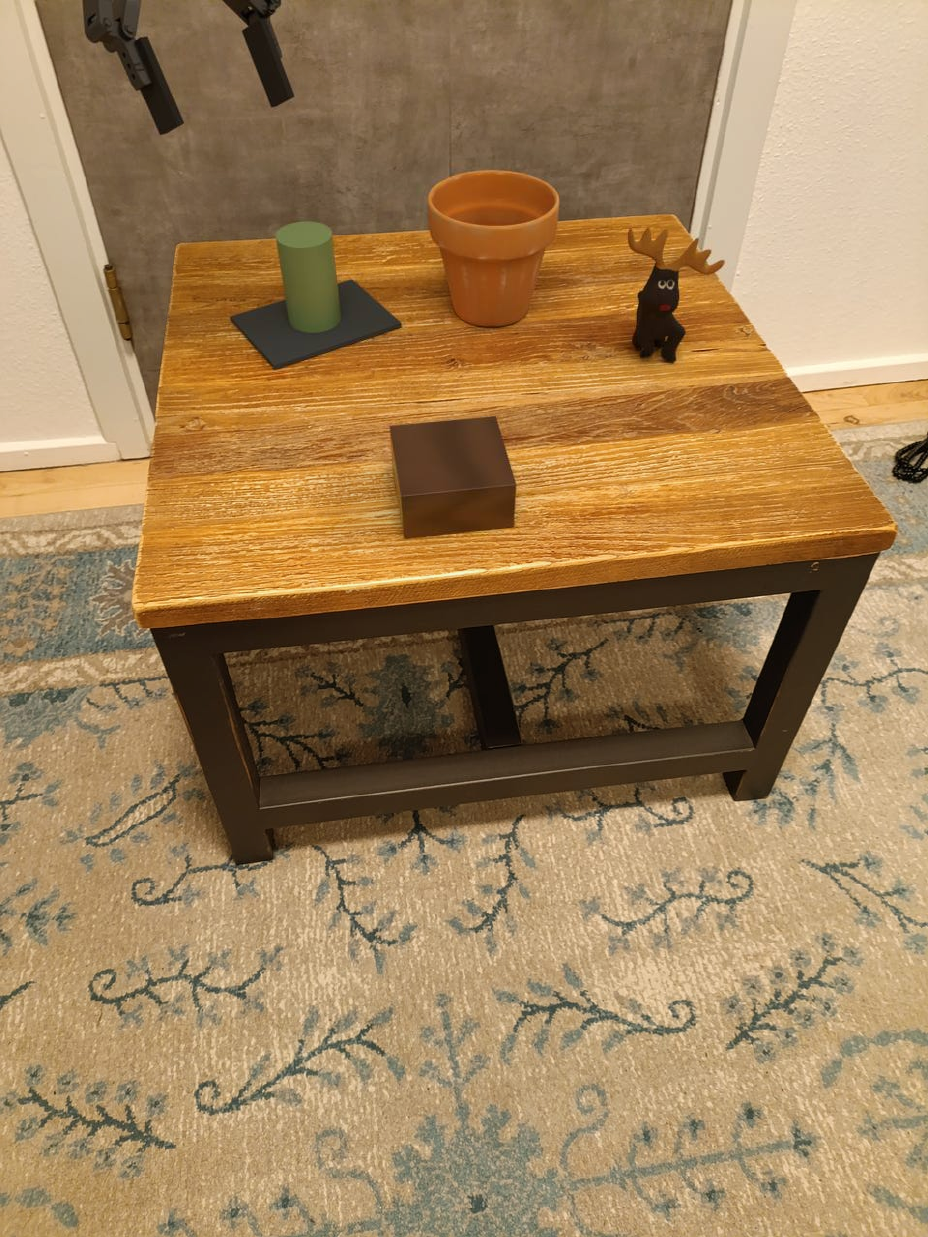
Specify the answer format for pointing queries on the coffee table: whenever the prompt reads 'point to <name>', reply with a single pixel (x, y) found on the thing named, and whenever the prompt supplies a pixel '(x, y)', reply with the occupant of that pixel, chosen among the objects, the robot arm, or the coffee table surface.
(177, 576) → the coffee table surface
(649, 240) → the figurine
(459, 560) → the coffee table surface
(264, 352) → the slate mat
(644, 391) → the coffee table surface
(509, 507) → the dark brown square block
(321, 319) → the green canister
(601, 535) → the coffee table surface
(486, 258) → the flower pot
